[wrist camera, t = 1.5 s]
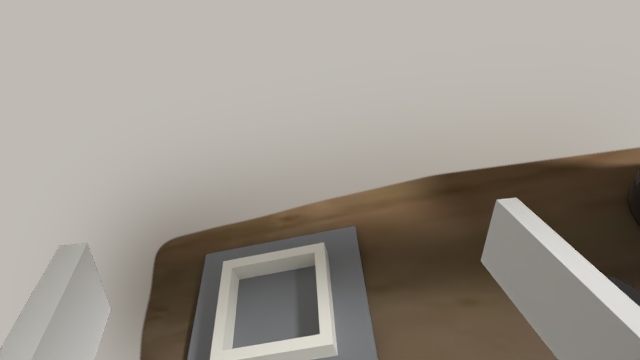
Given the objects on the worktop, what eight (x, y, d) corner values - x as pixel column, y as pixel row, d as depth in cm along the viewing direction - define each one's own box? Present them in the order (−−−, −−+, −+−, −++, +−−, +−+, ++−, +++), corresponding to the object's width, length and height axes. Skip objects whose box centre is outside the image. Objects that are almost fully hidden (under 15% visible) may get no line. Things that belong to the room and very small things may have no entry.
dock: (355, 229, 53) (351, 212, 51) (383, 393, 38) (379, 379, 36) (208, 257, 55) (198, 242, 53) (179, 423, 40) (164, 412, 38)
